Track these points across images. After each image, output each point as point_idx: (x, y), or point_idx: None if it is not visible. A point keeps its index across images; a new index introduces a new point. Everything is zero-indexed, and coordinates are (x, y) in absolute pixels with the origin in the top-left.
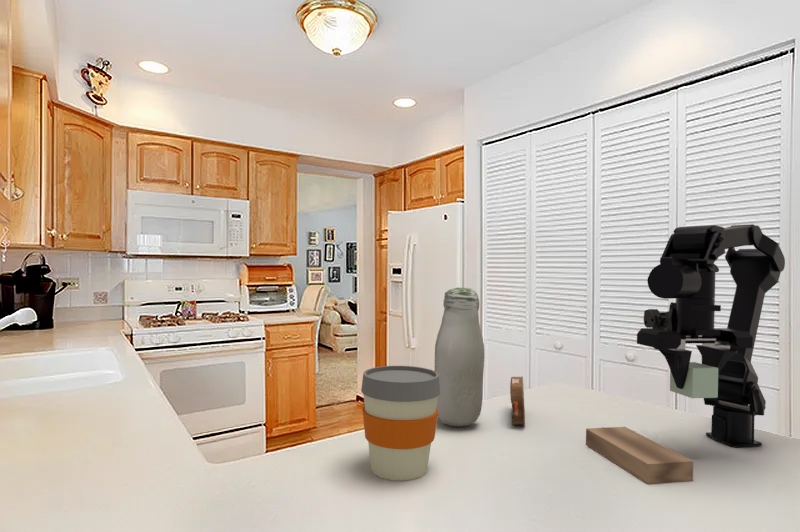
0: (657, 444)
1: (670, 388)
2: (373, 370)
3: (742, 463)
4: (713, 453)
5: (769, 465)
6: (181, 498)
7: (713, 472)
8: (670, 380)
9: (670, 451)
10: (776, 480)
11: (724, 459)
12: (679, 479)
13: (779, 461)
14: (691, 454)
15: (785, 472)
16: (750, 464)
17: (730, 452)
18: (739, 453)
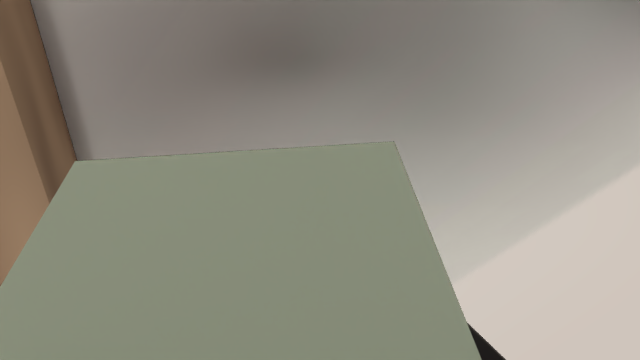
0: (11, 134)
1: (69, 182)
2: None
3: (447, 134)
4: (423, 17)
5: (540, 159)
6: None
7: None
8: (33, 241)
9: (35, 218)
10: None
11: (408, 90)
12: None
13: (631, 128)
14: (294, 19)
15: (527, 215)
16: (471, 145)
17: (525, 13)
18: (557, 30)
